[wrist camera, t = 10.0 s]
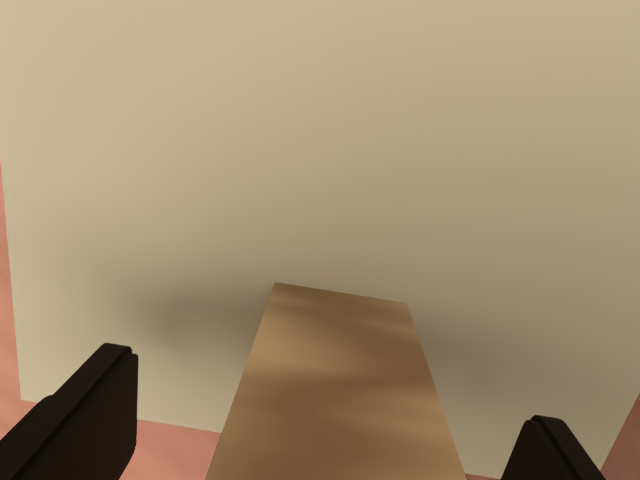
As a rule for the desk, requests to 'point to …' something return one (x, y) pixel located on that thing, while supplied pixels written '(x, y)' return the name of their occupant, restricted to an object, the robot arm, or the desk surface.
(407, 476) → the block
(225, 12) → the mat
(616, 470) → the desk surface
